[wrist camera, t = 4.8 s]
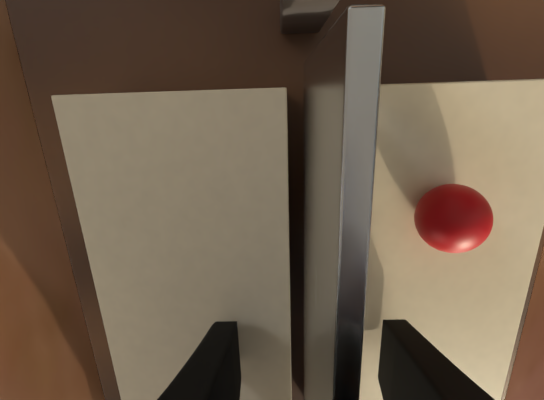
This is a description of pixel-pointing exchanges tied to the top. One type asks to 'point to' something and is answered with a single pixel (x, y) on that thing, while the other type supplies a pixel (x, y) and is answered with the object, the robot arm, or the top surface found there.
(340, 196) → the cleaver knife
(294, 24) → the cutting board
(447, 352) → the cake
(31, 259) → the top surface
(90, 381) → the top surface
